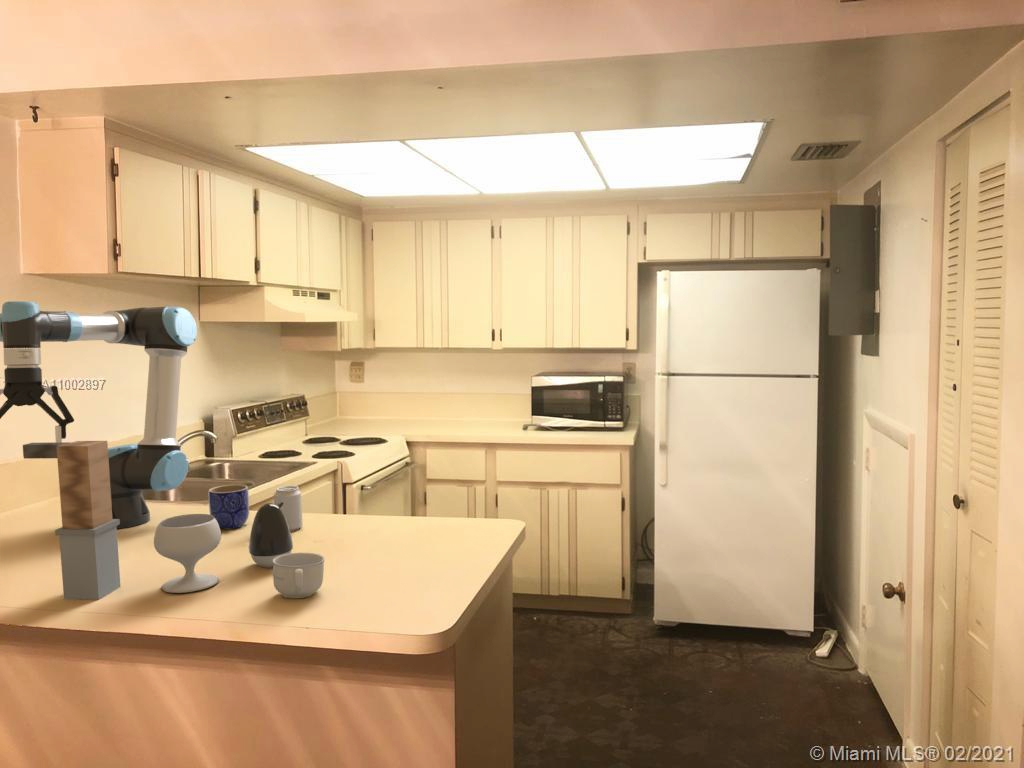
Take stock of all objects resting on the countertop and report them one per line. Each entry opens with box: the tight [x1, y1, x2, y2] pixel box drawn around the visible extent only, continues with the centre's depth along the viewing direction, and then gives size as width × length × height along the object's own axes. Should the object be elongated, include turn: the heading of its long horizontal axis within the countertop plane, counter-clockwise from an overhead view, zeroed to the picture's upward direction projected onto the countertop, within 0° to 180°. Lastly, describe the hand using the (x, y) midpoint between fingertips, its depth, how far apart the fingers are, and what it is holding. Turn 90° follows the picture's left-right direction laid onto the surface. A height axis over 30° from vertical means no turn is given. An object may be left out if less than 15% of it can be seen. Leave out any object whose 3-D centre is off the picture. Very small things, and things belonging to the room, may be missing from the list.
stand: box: [54, 519, 121, 600], centre depth 172 cm, size 9×9×16 cm
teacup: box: [272, 552, 325, 599], centre depth 168 cm, size 14×11×8 cm
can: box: [273, 485, 303, 532], centre depth 222 cm, size 8×8×12 cm
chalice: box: [153, 513, 222, 594], centre depth 176 cm, size 14×14×15 cm
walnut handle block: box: [22, 440, 113, 529], centre depth 171 cm, size 16×7×18 cm, turn 85°
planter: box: [207, 484, 250, 530], centre depth 226 cm, size 11×11×11 cm
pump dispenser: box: [248, 502, 294, 568], centre depth 190 cm, size 10×10×15 cm
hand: (26, 455), depth 186 cm, fingers open, 13 cm apart
